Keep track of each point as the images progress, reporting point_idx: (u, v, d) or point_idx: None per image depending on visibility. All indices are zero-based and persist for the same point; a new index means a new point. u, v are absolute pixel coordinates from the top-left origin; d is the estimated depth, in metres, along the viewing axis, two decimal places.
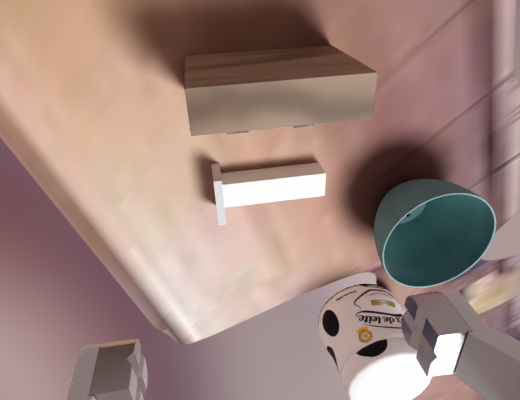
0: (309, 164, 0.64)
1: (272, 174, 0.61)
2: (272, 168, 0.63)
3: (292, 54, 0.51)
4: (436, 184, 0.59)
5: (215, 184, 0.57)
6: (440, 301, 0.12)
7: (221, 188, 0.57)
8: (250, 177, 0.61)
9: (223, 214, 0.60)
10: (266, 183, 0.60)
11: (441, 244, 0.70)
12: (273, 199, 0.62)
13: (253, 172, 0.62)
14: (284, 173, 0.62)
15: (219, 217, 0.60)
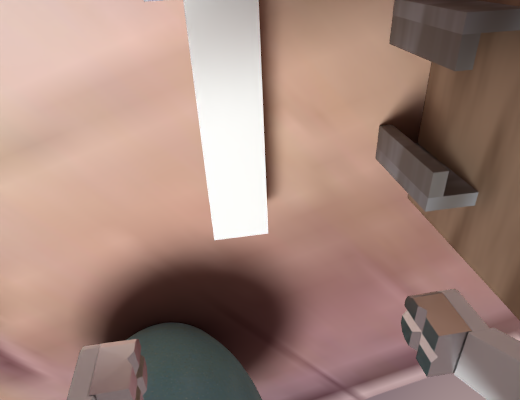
0: None
1: None
2: None
3: None
4: None
5: None
6: (440, 301, 0.12)
7: None
8: None
9: None
10: (254, 114, 0.25)
11: None
12: (207, 133, 0.25)
13: None
14: None
15: None
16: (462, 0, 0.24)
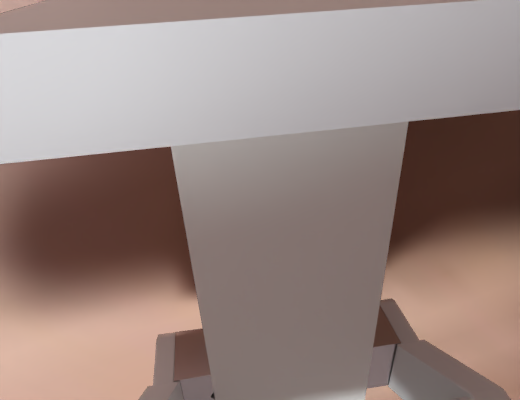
0: None
1: None
2: None
3: None
4: None
5: None
6: None
7: None
8: None
9: (154, 122, 0.04)
10: (350, 354, 0.10)
11: None
12: (232, 397, 0.10)
13: None
14: None
15: (91, 60, 0.04)
16: None
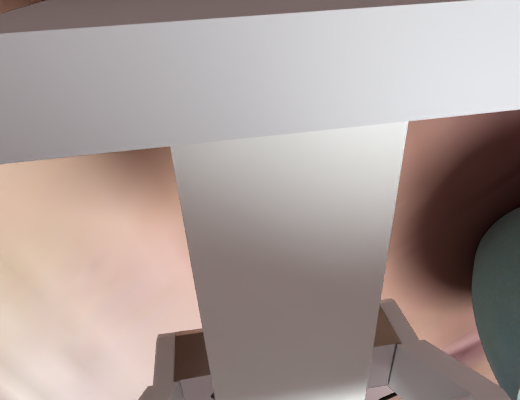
0: None
1: None
2: None
3: None
4: None
5: None
6: None
7: None
8: None
9: (153, 122, 0.04)
10: (350, 354, 0.10)
11: None
12: (232, 397, 0.10)
13: None
14: None
15: (90, 60, 0.04)
16: None
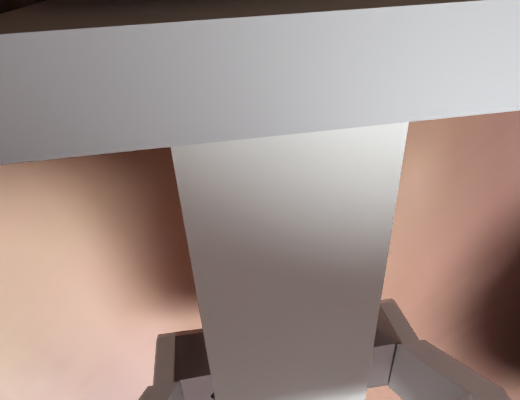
0: None
1: None
2: None
3: None
4: None
5: None
6: None
7: None
8: None
9: (153, 123, 0.04)
10: (350, 355, 0.10)
11: None
12: (232, 398, 0.10)
13: None
14: None
15: (90, 61, 0.04)
16: None
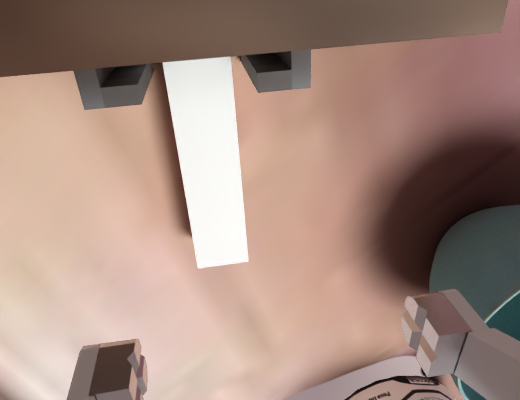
0: None
1: None
2: None
3: None
4: None
5: None
6: (440, 301, 0.12)
7: None
8: None
9: None
10: (230, 156, 0.27)
11: None
12: (187, 173, 0.27)
13: None
14: None
15: None
16: None
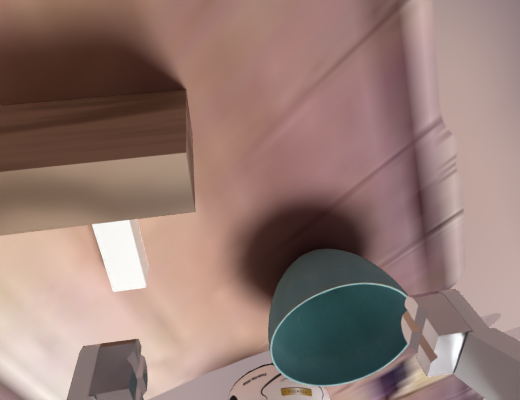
0: (146, 259, 0.51)
1: (134, 227, 0.46)
2: (137, 220, 0.48)
3: (117, 108, 0.37)
4: (337, 266, 0.46)
5: None
6: (440, 301, 0.12)
7: None
8: None
9: None
10: (125, 227, 0.44)
11: (361, 324, 0.56)
12: (100, 237, 0.45)
13: None
14: (137, 240, 0.47)
15: None
16: None
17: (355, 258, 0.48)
